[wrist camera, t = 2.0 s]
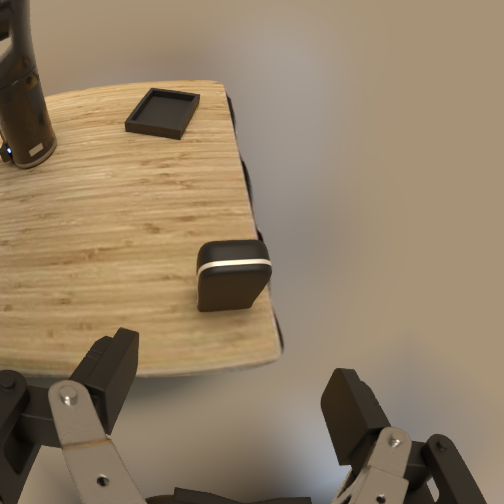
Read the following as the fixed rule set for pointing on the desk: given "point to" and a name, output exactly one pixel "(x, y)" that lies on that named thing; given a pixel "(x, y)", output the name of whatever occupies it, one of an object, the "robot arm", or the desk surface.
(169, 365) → the desk surface
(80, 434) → the robot arm
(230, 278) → the battery charger
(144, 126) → the dock pad
